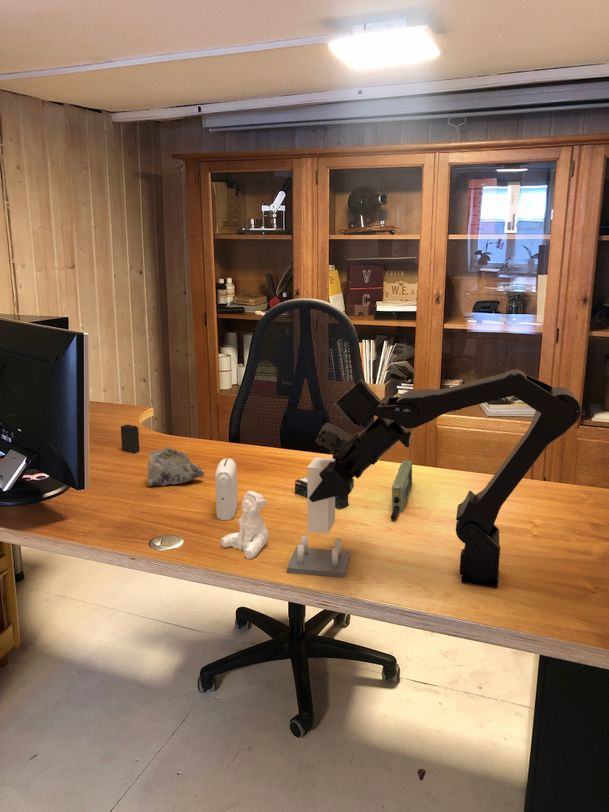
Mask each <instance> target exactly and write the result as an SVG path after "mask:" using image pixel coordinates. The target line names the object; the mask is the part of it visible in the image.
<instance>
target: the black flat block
mask: <svg viewBox="0 0 609 812" xmlns="http://www.w3.org/2000/svg"><path fill="white" fill-rule="evenodd" d="M294 494H295V495H298V496H300V497H302V498H305V499H308V489H307V478H306V477H301V478H298V479H295V481H294ZM349 503H350V502H349V495H347V496H346V497H345V498H344V499H341V498H340V497H339V496H336V497H335V509H337V510H343V509H346V508H348V507H349V506H350V504H349Z"/></svg>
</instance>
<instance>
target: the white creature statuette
mask: <svg viewBox="0 0 609 812" xmlns="http://www.w3.org/2000/svg"><path fill="white" fill-rule="evenodd" d="M241 501H242V505H241V507H242V513H241V516H240V517H239V518H238V520H237V521H238V525H239V531H238V532H232V533H228V534H226V535H224V536H223V537H221V538H220V544H221V546H222V548H234V549H237V550H239V551H240V550H241V551H242V552H243V553H244V557H245V558H246V559H247V560H248V559H249V560H251V559H253V558H255V557H257V556H258V554H259V552H260V551H262V549H263V548H264V546H265V545H266V544H267V542H268V538H269V533H270V532H269V531H268V529H267V527H266V525H265V523H264V518H263V516H262V515H261V513H260V512H261V510H263V507H265V506H266V505H267V504H268V500H267V499H264V497H263V495H262V494H261V493H259V492H257V491H254V490H247V491H246V493H245V494H244V495H243V498H242V500H241Z"/></svg>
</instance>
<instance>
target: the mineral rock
mask: <svg viewBox="0 0 609 812" xmlns="http://www.w3.org/2000/svg"><path fill="white" fill-rule="evenodd" d="M149 454H150V455H149V458H148V464H147V474H146V475H147V476H146V477H147V485H148V486H149V487H153V486H155V487H156V486H157V487H158V486H162V487H163V486H168V485H177V484H178V485H179V484H185V483H187V482H189V481H193V480H194V479H199V478H203V477H204V476H205V472H204V471H203V470H202V467H200V466H199V465H197V464H194V463H192V462H191V459H190V458H189V457H188V455H186V454H185V453H183V452H181V451H179V450H177V449H175V448H171V447H170V446H167V447H164V448H162V449H161V450H156V449H155V450H151V451H150V453H149Z"/></svg>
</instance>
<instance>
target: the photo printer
mask: <svg viewBox="0 0 609 812" xmlns="http://www.w3.org/2000/svg"><path fill="white" fill-rule="evenodd" d="M214 476H215V477H214V478H215V480H214V481H215V504H216V505H215V506H216V509H215V510H216V518H217V519H218V520H220V521H230V520H232V519H233V518H234V517H235V514H236V511H237V506H238V475H237V463H236V462H235V460H234V459H232V458H226V457H225V458H223V459H222V460H220V462H219V463H218V465H217V467H216V470H215V475H214Z"/></svg>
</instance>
